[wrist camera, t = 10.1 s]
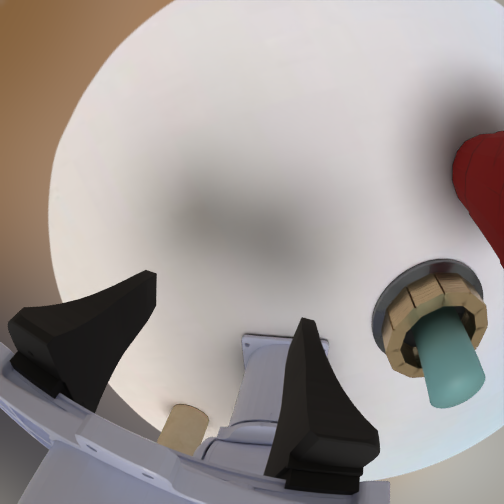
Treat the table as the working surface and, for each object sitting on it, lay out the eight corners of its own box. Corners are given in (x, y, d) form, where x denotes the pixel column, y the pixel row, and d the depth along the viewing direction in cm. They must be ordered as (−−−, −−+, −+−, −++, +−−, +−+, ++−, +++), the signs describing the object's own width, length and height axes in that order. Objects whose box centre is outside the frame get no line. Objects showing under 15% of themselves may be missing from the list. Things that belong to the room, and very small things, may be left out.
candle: (216, 418, 36) (194, 478, 27) (198, 427, 38) (178, 481, 29) (181, 399, 35) (154, 459, 26) (167, 410, 38) (142, 463, 29)
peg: (446, 336, 22) (470, 404, 15) (405, 338, 23) (421, 411, 16) (460, 297, 20) (494, 365, 13) (416, 299, 21) (442, 373, 14)
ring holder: (457, 354, 23) (466, 378, 20) (361, 358, 25) (364, 385, 23) (495, 261, 18) (513, 282, 15) (383, 256, 21) (393, 280, 18)
